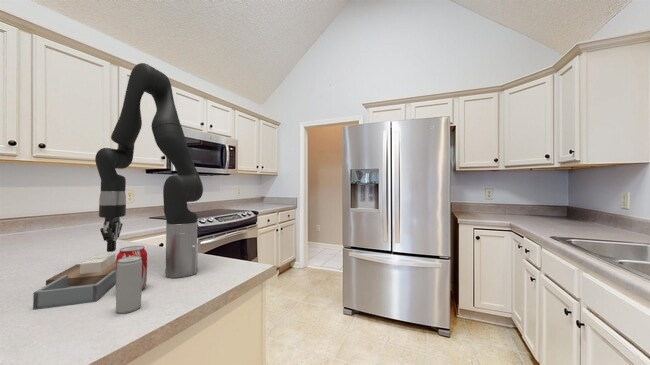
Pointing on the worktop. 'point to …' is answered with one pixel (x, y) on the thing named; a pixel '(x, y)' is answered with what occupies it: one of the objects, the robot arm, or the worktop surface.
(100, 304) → the worktop surface
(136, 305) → the grey cylinder
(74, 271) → the walnut board
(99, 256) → the rear tile
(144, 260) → the soda can
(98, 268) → the front tile
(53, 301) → the grey tray
